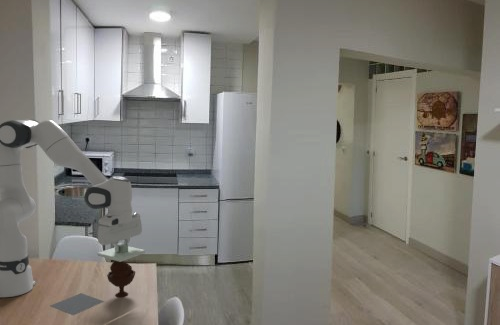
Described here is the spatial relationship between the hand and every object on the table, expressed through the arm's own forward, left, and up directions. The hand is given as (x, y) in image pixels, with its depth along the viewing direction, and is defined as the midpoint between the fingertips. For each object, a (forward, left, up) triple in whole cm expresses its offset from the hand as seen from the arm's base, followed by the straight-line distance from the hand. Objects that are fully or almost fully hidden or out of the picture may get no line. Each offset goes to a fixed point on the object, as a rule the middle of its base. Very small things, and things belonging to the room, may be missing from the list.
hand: (121, 250), depth 169 cm
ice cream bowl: (0, 0, -19) cm, 19 cm away
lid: (0, 0, -2) cm, 2 cm away
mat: (-8, -15, -19) cm, 26 cm away
